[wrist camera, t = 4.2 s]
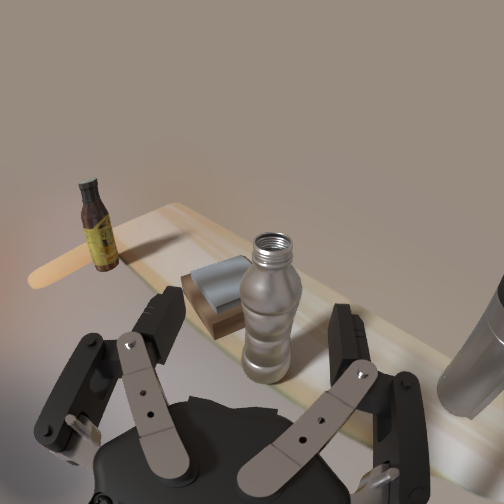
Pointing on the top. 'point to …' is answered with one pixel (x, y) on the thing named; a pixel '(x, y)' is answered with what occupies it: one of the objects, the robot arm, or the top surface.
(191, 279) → the plinth
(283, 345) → the silver bottle
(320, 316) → the top surface
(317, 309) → the top surface
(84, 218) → the sauce bottle
